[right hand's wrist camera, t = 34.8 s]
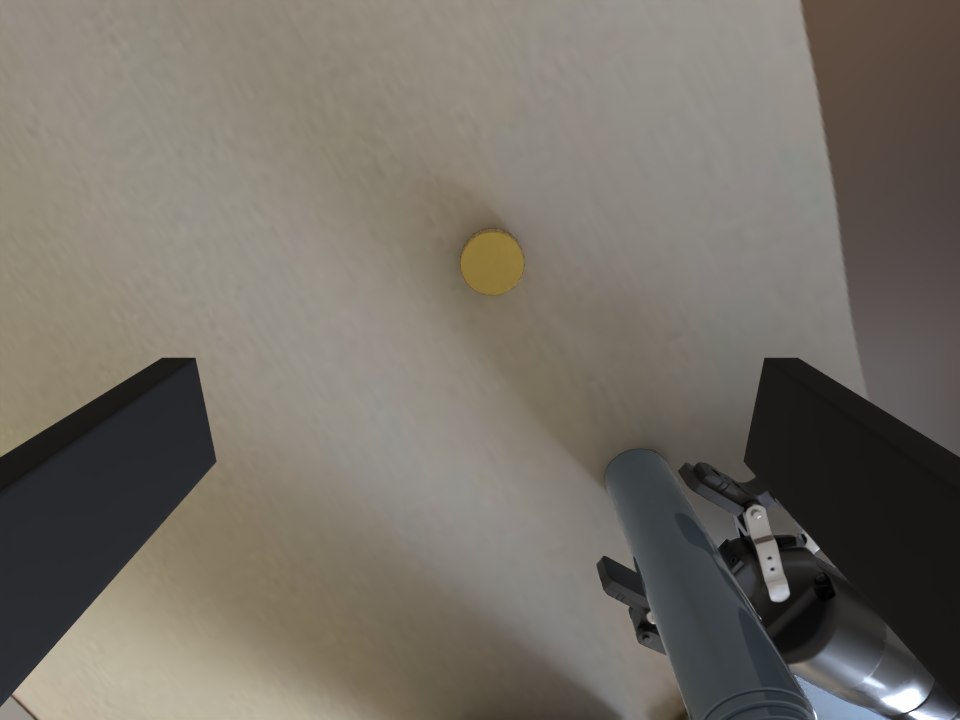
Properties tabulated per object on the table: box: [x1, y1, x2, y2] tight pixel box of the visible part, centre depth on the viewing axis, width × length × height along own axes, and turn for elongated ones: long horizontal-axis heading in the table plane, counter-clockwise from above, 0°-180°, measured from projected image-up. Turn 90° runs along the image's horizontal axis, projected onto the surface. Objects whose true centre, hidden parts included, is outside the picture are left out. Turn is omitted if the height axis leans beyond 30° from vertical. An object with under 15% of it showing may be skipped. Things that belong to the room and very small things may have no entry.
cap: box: [460, 228, 524, 295], centre depth 33 cm, size 4×4×2 cm
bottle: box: [605, 449, 817, 720], centre depth 28 cm, size 5×5×24 cm
